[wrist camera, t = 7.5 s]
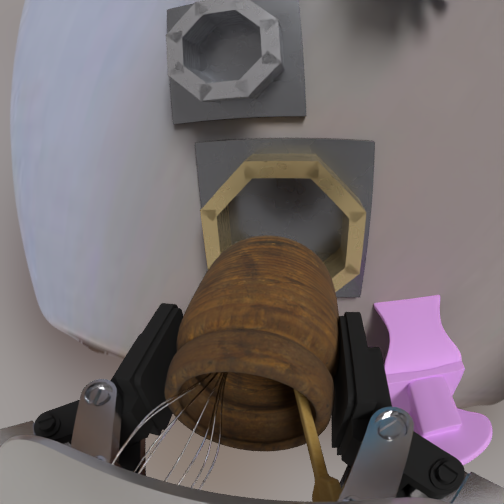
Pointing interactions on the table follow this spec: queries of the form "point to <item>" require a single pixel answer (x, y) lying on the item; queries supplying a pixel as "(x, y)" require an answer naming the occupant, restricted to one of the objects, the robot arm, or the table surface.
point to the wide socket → (291, 198)
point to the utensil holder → (258, 355)
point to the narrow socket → (235, 60)
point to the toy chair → (430, 377)
